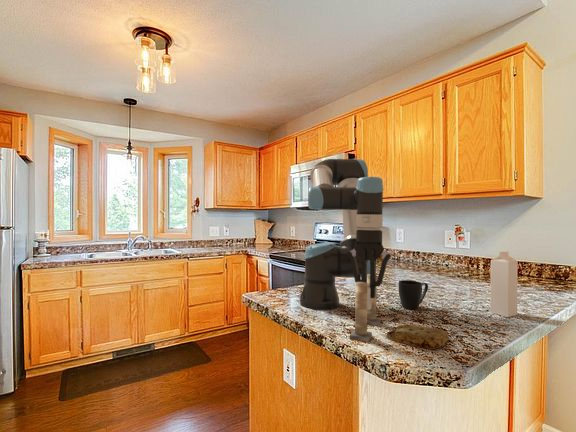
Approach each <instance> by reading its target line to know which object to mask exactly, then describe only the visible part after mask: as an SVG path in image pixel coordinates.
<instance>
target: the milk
mask: <svg viewBox="0 0 576 432" xmlns="http://www.w3.org/2000/svg"><path fill="white" fill-rule="evenodd" d="M518 264H519V263H518V260H516V259H514V258H513V257H512V256H510V255H509V251H500V252H499V256H496V257H494V258H492V259H491V260H490V288H489V289H490V302H489V303H490V307H489V308H490V311H489V312H490V313H491V314H494V315H498V316H503V317H506V318H510V317H514V316H518Z"/></svg>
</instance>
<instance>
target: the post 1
mask: <svg viewBox="0 0 576 432" xmlns="http://www.w3.org/2000/svg"><path fill="white" fill-rule="evenodd" d="M354 291H355V300H354V301H355V302H354V303H355V304H354V305H355V306H354V308H355V310H354V311H355V312H354V317H355V318H354V329H353V330H352V331H351V333H350V334H349V339H350V340H354V341H361V342H366V343H369V341H370V339H371V338H372V336H373V333H372V331H368V325H367V283H366V282H356V283H355V290H354Z"/></svg>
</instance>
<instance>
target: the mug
mask: <svg viewBox="0 0 576 432" xmlns="http://www.w3.org/2000/svg"><path fill="white" fill-rule="evenodd" d="M423 285H424V289H423ZM428 290H429V285H428V283H427V282H421V281H417V280H405V279H403V280H398V296H399V300H400V303H401V308H403V309H405V310H412V311H416V310H418V309H419V306H420V305H421V304H422V302H423V300H424V298H425V296H426V295H427V292H428Z"/></svg>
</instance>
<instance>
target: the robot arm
mask: <svg viewBox="0 0 576 432" xmlns="http://www.w3.org/2000/svg"><path fill="white" fill-rule="evenodd" d="M368 171H369V170H368V165H367V163H366V161H365V159H362V158H351V159H350V158H327V159H324V160H321V161H319V162H318V163H316V164H315V165H313V167H312V168H311V170H310V174H309V175H310V181H311V182H312V186H310V187H309V188H308V193H307V196H308V197H307V207H308V208H309V209H310V210H317V211H321V210H323V211H324V210H325V211H328V210H329V211H333V210H334V211H339V210H340V211H342V228H343V229H342V230H343V233H342V234H343V240H341V241H340V243H339V245H340V246H337V245H336V243H335V242H323V243H321V242H320V243H314V244H310V245H307V246H306V248H305V253H304V259H305V260H304V261H305V262H304V285H303V288H302V291H301V294H300V296H299V304H300V305H301V306H303V307H305V308H308V309H315V310H316V309H318V310H328V309H335V308H338V307H339V306H340V297H339V293H338V289H337V286H336V278H354V282H355V283H354V284H356V282H366V283H367V274H370V286H368V285H367V310H370V309H371V308H372V298H374V297H375V287H376V286H377V287H380V286H382V284H383V280H384V277H385V273H386V270H387V265H388V263H389V261H390V259H391V257H392V254H391V253H388V252H387V250H385V248H384V246H383V230H381V229H382V228H383V216H384V215H383V204H384V202H383V201H384V199H383V198H384V183H383V179H382V178H381V177H380V176H369V172H368ZM381 255H382V256H381ZM380 256H381V257H382V261H381V265H380V268H379V272H378V277H377V281H376V275H377V260H378V258H379V257H380Z"/></svg>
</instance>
